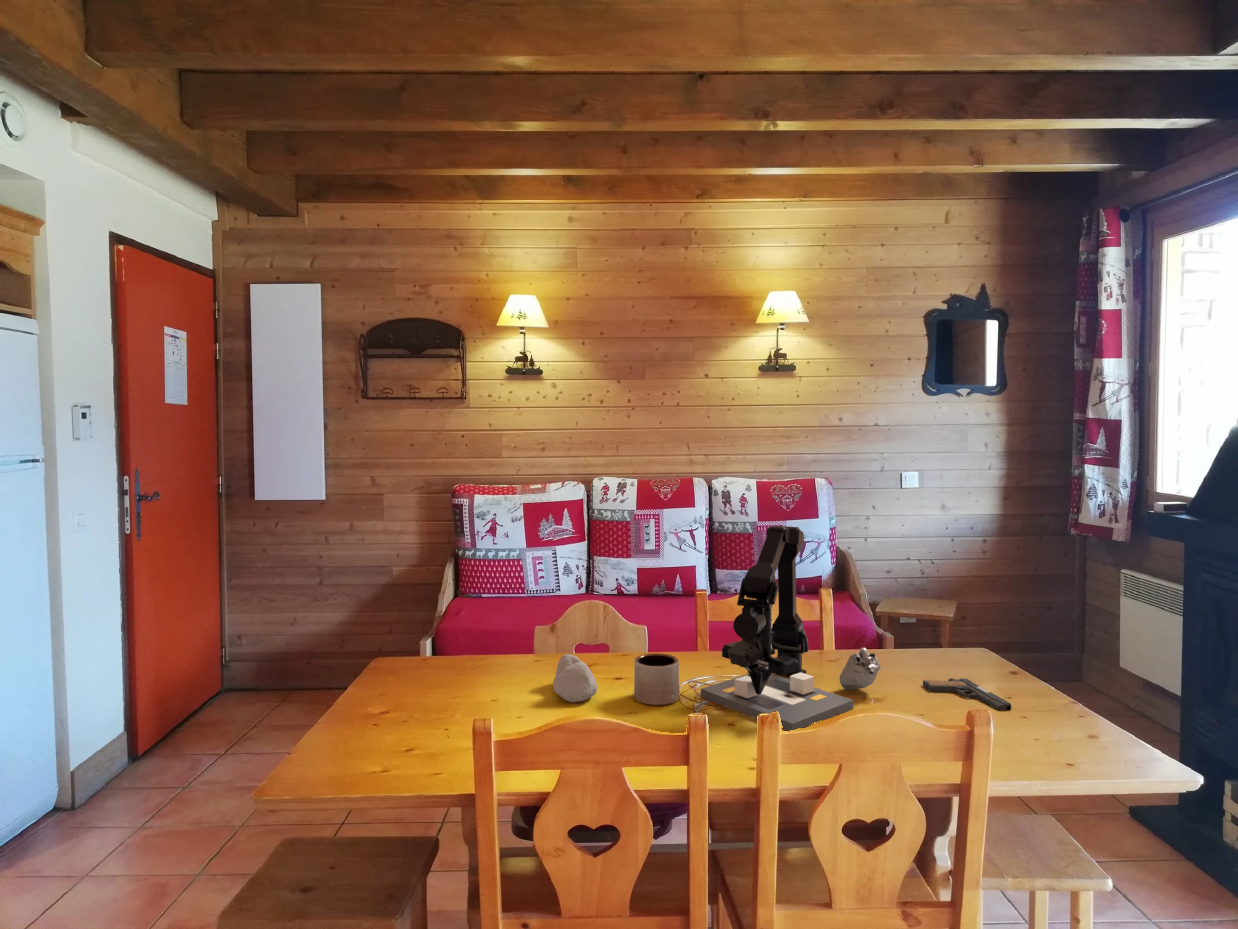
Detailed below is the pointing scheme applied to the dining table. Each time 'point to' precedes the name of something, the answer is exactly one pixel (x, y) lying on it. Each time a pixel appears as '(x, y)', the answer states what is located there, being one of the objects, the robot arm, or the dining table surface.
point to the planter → (656, 679)
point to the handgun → (967, 691)
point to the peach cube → (802, 683)
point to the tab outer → (744, 687)
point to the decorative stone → (574, 679)
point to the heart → (859, 670)
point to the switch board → (780, 702)
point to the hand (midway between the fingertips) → (758, 694)
